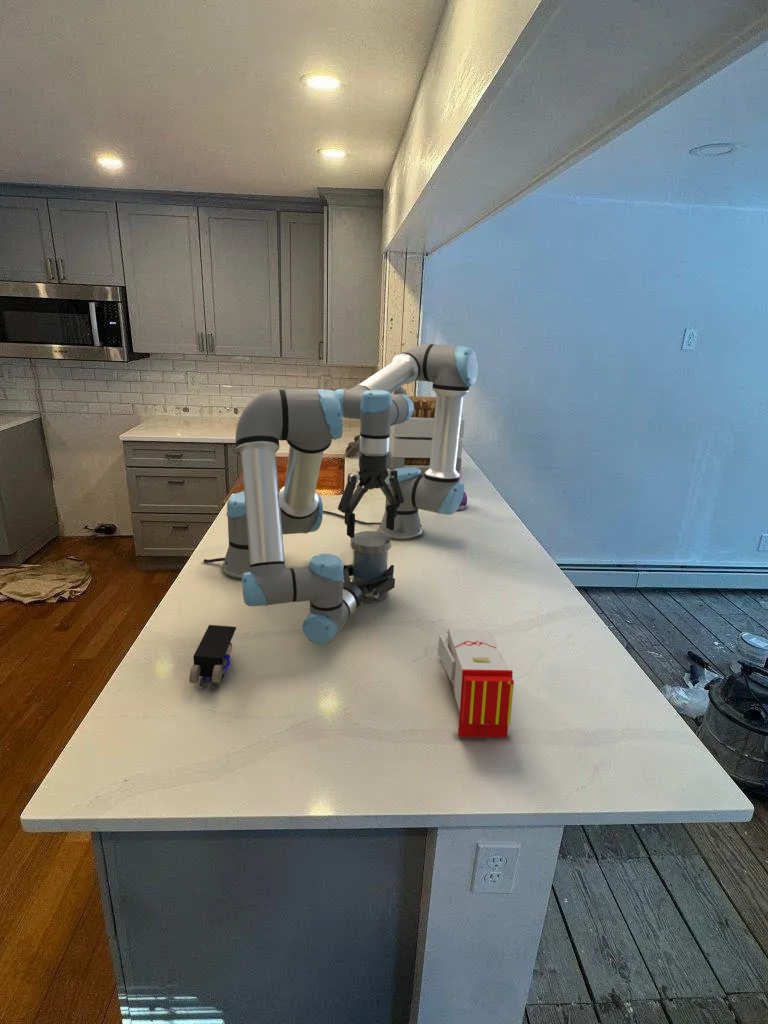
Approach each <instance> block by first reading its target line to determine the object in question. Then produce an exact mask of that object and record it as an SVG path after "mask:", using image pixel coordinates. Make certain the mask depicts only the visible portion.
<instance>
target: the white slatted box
mask: <svg viewBox="0 0 768 1024" xmlns="http://www.w3.org/2000/svg"><path fill="white" fill-rule="evenodd" d="M395 394H404V395H407V394H408V393H407V390H406V389H404V388H403V386H401V387H400V388H398V389H397V390H396V391H394V392H393V393H392V395H395ZM407 396H408V397H409V398H410V399H411V400H412V402H413V405H414V412H413V415H412V416H411V418H410V419H408V420H407V421H405V422H403V423H401V424H396V425H392V426H390V441H389V452H388V453H387V454H388V455H389V460H388V468H389V469H397V468H405V466H406V467H409V466H411V467H417V466H418V467H430V458H431V447H432V437H433V426H434V416H435V405H436V396H415V395H414V396H413V395H412V396H411V395H407ZM464 429H465V419H464V418H463V413H462V414H461V424H460V433H459V442H458V451H457V460H456V471H457V472H458V473H459V472H460V471H462V461H463V460H462V453H463V442H464V441H463V440H462V439H463V438H464V431H465V430H464Z"/></svg>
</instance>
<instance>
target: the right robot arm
mask: <svg viewBox="0 0 768 1024" xmlns="http://www.w3.org/2000/svg"><path fill="white" fill-rule="evenodd" d="M476 355H477V354H476V353H475V351H474V350H473V348H471V347H469V346H462V345H451V344H450V345H449V344H436V343H435V344H434V343H423V344H419V345H415V346H412V347H410V348H407V349H406V350H403V351H402V352H400V353H398V354H397V355H395V356H394V357H393V358H392V360H391V363H389V364H387V365H386V366H384V367H382V368H381V369H380V370H378V371H376V372H375V373H374V374H372V375H371V376H369V377H367V378H366V379H365V380H363V381H362V382H359V383H358V384H356V385H355V386H353V387H352V388H350V389H347V388H337V389H336V390H333V391H334V392H335V393H336V394H337V396H338V398H339V402H340V407H341V413H342V418H344V419H353V420H360V425H359V431H360V432H359V435H360V452H359V453H358V469H359V471H358V473H357V474H356V473H355V474H352V473H348V474H347V482H346V485H345V487H344V490H343V492H342V495H341V498H340V501H339V503H338V505H337V510H338V511H339V512H341V513H343V514H344V515H343V514H339V513H336V512H333V511H328V510H323V514H324V513H325V514H330V515H333V516H337V517H340V518H343V519H344V525H345V526H346V536H348V537H349V538H350V539H351V538H354V534H355V533H356V532H355V531H356V526H355V525H356V523H359V524H361V525H367V526H368V525H369V526H370V525H372V526H373V525H374V526H375V525H377V526H378V532H381V533H384V534H386V535H388V536H389V537H390V538H391V540H395V541H410V540H415V539H418V538H420V537H421V536H422V535H423V525H422V524H421V518H420V515H419V510H421V511H426V512H430V513H436V514H438V515H446V516H451V515H453V514H454V513H456V512H457V511H458V510H457V509H458V507H459V505H460V503H461V501H462V498H463V494H464V491H465V485H464V482H463V483H462V482H461V481H459V474H458V472H457V471H456V460H457V451H458V442H459V433H460V424H461V418H462V417H461V414H462V415H463V403H464V398H465V396H466V395H467V394H468V393H469V392H470V388H471V387H473V386H474V385H475V384H476V382H477V379H478V373H479V365H478V364H479V363H478V359H477V356H476ZM414 382H429V383H432V386H431V387H432V390H433V392H434V393H435V397H436V405H435V416H434V426H433V437H432V447H431V458H430V466H428V468H427V469H426V470H424V474H422V470H421V468H419V467H415V466H411V467H409V466H406V467H405V466H404V468H397V469H390V468H389V467H388V460H389V455H388V454H387V453H388V452H389V441H390V426H392V425H396V424H401V423H403V422H405V421H407V420H408V419H410V418H411V416H412V415H413V412H414V405H413V402H412V400H411V399H410V398H409V397H408V396H409V395H404V394H395V395H393V394H394V392H395V391H396V390H397V389H398V388H400V387H403V386H404V385H409V384H412V383H414ZM388 468H389V469H388ZM357 483H358V484H357ZM374 489H380V491H381V493H383V495H384V496H385V504H384V505H385V507H384V508H385V509H384V513H383V515H382V519H381V522H367V521H361V520H358V519H356V514H355V513H354V511H355V510H356V509H357V506H358V505H359V503H360V501H361V500H362V498H363V497H364V495H365V494H366V493H367V492H368V491H369V490H374Z"/></svg>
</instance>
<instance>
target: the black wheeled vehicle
mask: <svg viewBox="0 0 768 1024" xmlns="http://www.w3.org/2000/svg"><path fill="white" fill-rule="evenodd" d="M236 630H237V627H236V626H231V625H217V624H208V626H207V628H206V629H205V632H204V634H203V636H202V638H201V640H200V642H199V644H198V646H197V648H196V650H195V652H194V654H193V656H192V658H193V664H192V666H191V668H190V670H189V676H188V677H189V679H188V680H189V683H190V684H191V683H193V684H197V683H198V682H199V681H200V682H199V688H203V687H204V684H205V683H206V679H210V680H211V682H212V683H213V688H215V689H216V688H217V687H218V684H220V682H221V681H222V679H224V677H225V676H224V675H225V671H226V670H227V669H228V668H229V667H230V666H231V659H230V658H231V654H232V652H233V643H232V639H233V638H234V635H235V632H236ZM224 661H226V664H225V665H224ZM200 677H201V680H200Z"/></svg>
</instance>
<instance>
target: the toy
mask: <svg viewBox="0 0 768 1024" xmlns="http://www.w3.org/2000/svg"><path fill="white" fill-rule="evenodd" d="M446 640H447V643H446V641H445V639H444V636H443V635H442V634H439V637H438V646H437V656H438V657H439V659H440V661H441V663H442V666H443V668H444V670H445V672H446V674H447V677H448V679H449V681H450V684H451V687H452V690H453V693H454V697H455V701H456V705H457V708H458V711H459V714H458V715H459V716H458V730H457V731H458V732H457V737H458V738H508V731H509V726H510V725H511V717H512V707H513V697H514V696H513V695H514V684H515V680H514V679H513V673H514V671H513V670H512V669H508V667H507V665H506V662H505V661H504V659H503V658H502V655H501V653H500V651H499V649H498V647H497V643H496V639H495V637H494V635H493V634H491V632H490V631H489V629H467V628H466V629H465V628H463V629H461V628H460V629H459V628H448V630H447V639H446Z"/></svg>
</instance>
